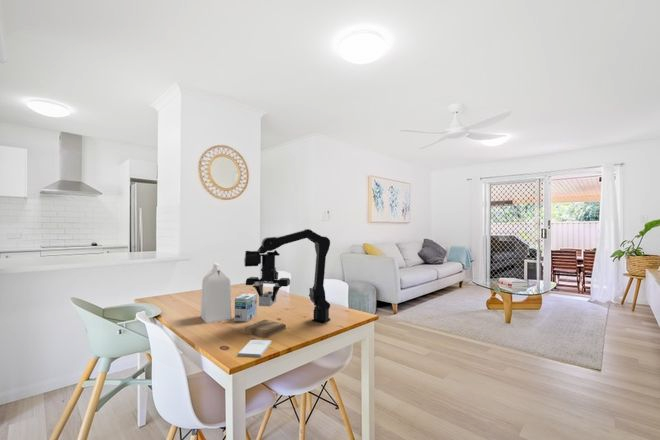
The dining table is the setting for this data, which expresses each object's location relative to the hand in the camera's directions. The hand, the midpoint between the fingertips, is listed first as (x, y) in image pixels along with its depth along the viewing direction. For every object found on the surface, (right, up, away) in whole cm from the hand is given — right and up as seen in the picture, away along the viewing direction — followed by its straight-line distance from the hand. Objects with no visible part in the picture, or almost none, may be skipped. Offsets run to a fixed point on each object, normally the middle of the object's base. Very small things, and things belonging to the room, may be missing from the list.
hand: (267, 301), depth 131 cm
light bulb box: (-13, -12, +11) cm, 21 cm away
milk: (-28, -12, +12) cm, 32 cm away
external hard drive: (+1, -11, -25) cm, 27 cm away
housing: (0, -1, 0) cm, 1 cm away
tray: (0, -11, -6) cm, 12 cm away
